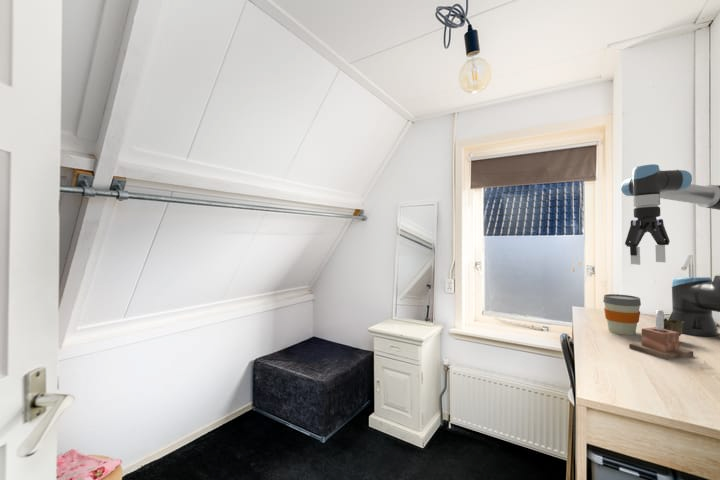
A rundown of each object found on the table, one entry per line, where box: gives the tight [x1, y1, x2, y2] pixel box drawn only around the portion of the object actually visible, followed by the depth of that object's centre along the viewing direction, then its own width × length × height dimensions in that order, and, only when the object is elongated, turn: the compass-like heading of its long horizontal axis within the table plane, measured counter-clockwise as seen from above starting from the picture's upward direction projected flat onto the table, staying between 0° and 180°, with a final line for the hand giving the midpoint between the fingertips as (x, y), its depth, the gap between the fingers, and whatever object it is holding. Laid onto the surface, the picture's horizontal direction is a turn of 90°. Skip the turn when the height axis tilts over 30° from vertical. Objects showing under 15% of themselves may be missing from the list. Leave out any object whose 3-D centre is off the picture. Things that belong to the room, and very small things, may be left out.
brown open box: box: [641, 326, 680, 352], centre depth 114 cm, size 7×7×6 cm
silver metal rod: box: [655, 309, 665, 332], centre depth 114 cm, size 2×2×13 cm
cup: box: [664, 317, 684, 337], centre depth 126 cm, size 8×7×8 cm
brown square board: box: [628, 341, 694, 361], centre depth 114 cm, size 12×12×2 cm
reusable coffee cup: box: [603, 293, 642, 336], centre depth 138 cm, size 13×12×15 cm
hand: (648, 263), depth 122 cm, fingers open, 13 cm apart
